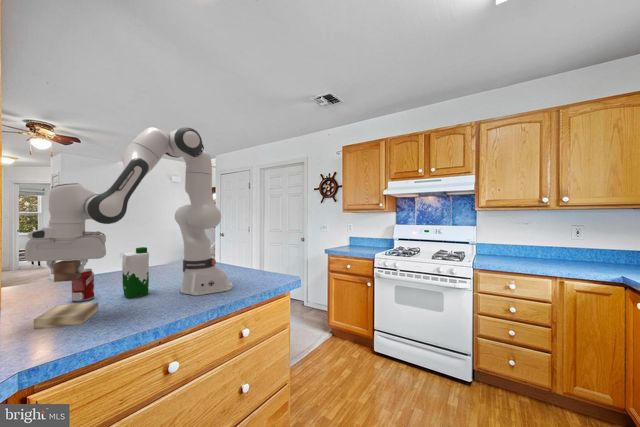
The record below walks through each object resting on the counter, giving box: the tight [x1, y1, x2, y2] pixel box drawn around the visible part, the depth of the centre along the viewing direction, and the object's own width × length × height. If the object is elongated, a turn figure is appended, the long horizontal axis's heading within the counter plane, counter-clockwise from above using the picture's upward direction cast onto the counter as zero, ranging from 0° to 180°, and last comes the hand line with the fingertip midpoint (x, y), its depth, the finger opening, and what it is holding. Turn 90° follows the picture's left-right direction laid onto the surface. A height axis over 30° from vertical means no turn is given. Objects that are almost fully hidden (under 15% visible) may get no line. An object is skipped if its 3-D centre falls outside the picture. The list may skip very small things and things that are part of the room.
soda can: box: [71, 268, 95, 303], centre depth 108 cm, size 7×7×12 cm
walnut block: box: [53, 260, 82, 283], centre depth 89 cm, size 5×5×6 cm
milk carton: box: [121, 246, 150, 300], centre depth 114 cm, size 9×9×20 cm
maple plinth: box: [33, 301, 99, 330], centre depth 90 cm, size 12×12×3 cm
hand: (67, 273), depth 89 cm, fingers closed on walnut block, 5 cm apart
